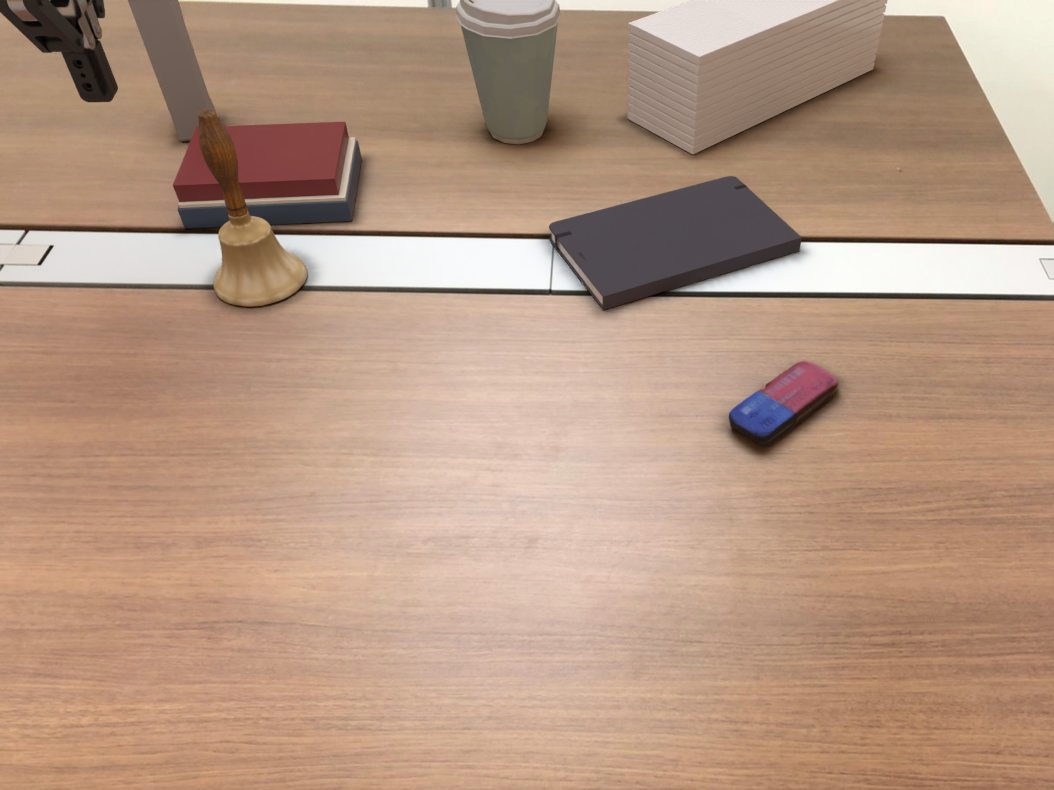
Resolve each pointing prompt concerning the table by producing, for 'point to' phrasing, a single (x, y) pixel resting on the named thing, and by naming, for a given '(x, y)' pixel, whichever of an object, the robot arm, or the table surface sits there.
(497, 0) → the disposable coffee cup
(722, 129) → the stack of papers
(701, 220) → the notebook
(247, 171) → the book stack
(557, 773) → the table surface
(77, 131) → the table surface
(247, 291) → the hand bell
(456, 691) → the table surface
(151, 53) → the tall grey plank
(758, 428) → the eraser
